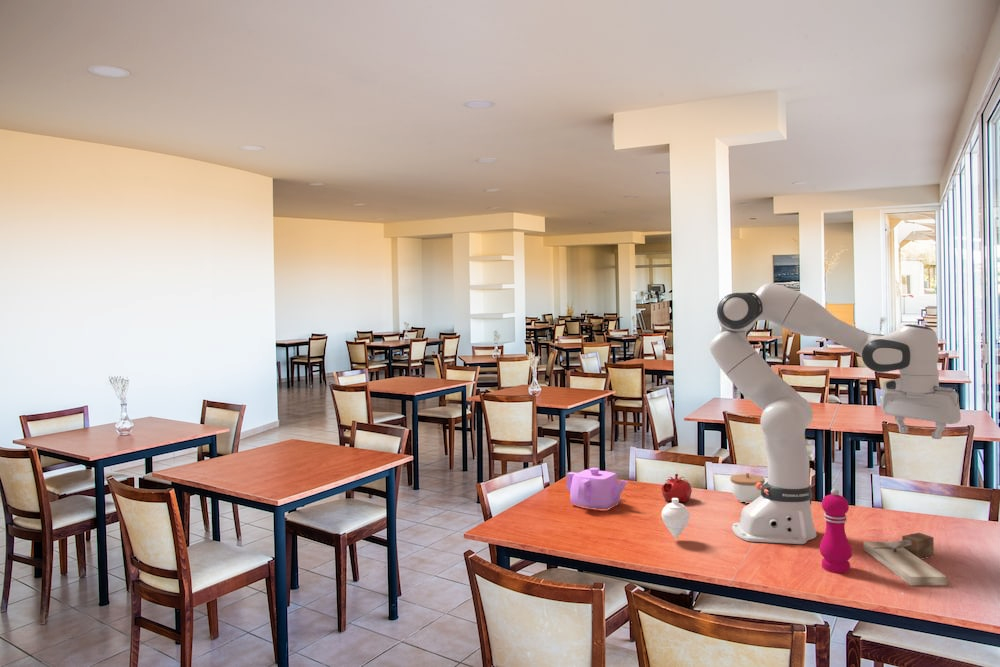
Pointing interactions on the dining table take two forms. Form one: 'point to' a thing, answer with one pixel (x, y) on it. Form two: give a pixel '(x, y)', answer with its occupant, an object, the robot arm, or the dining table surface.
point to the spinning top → (675, 517)
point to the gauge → (916, 545)
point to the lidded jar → (746, 486)
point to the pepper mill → (835, 534)
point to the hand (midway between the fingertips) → (919, 435)
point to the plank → (905, 564)
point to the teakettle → (594, 488)
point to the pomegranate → (676, 489)
